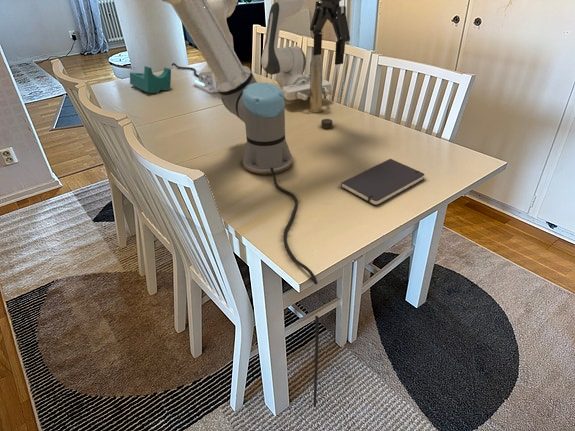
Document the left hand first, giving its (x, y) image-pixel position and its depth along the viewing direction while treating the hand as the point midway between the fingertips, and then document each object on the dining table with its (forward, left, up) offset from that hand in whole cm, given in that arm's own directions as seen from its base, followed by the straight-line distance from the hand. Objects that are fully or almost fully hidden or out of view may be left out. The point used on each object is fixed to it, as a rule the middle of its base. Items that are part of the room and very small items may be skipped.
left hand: (316, 95), depth 157 cm
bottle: (-1, 0, -6) cm, 6 cm away
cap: (+12, -11, -4) cm, 17 cm away
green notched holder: (-79, -19, -6) cm, 82 cm away
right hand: (+12, -11, +18) cm, 24 cm away
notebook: (+47, -35, -6) cm, 59 cm away
